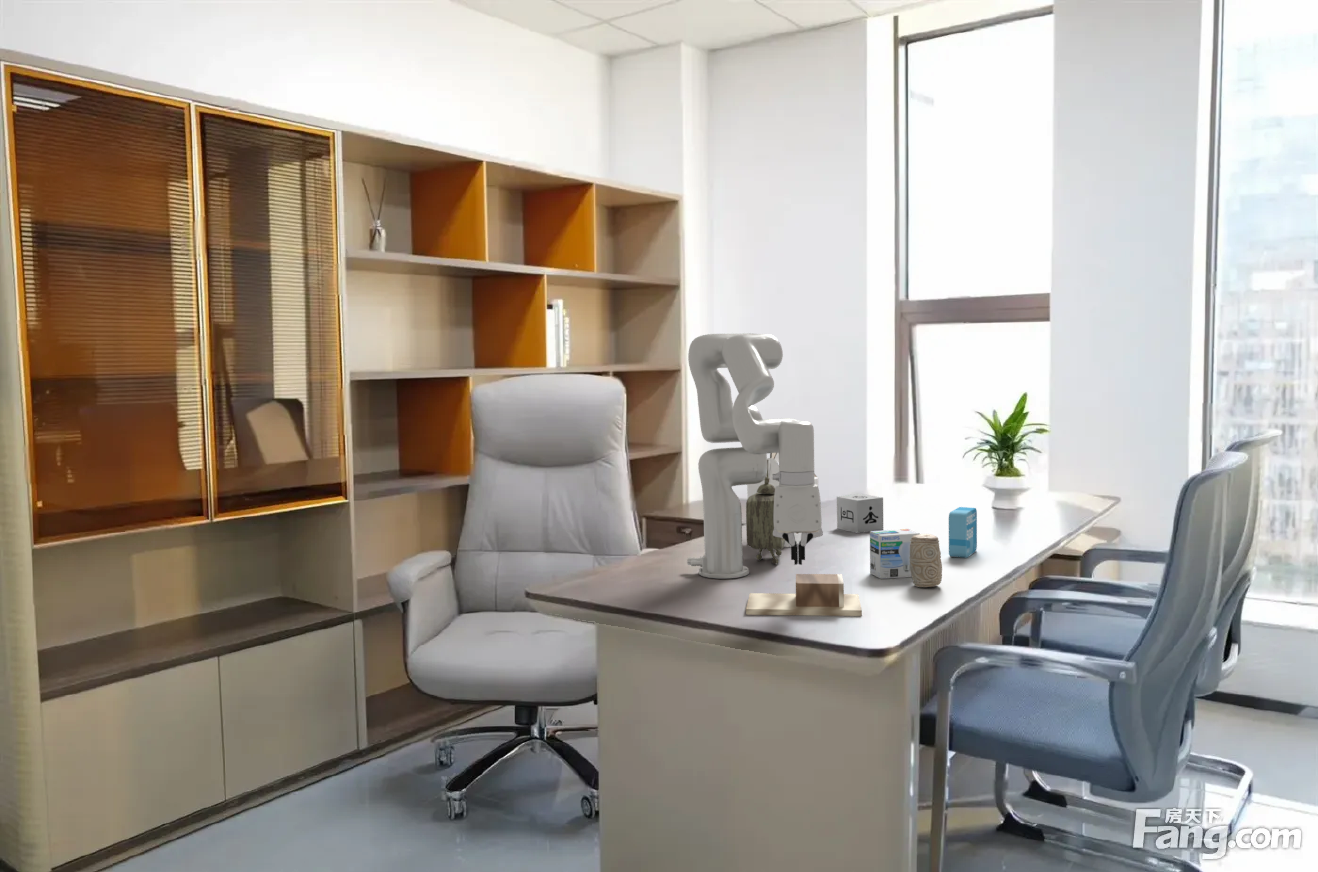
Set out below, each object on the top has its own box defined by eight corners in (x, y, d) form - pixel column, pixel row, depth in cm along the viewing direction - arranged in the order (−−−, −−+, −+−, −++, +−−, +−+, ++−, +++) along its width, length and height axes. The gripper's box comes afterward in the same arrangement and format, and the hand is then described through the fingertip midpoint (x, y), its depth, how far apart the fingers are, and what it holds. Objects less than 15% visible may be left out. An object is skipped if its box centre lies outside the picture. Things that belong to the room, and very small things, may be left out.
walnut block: (795, 583, 210) (843, 583, 208) (796, 574, 219) (842, 574, 217) (796, 606, 210) (843, 607, 209) (796, 596, 219) (842, 596, 217)
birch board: (746, 614, 209) (746, 609, 209) (749, 598, 223) (749, 593, 223) (861, 616, 206) (861, 610, 205) (858, 599, 219) (858, 594, 219)
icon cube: (837, 528, 309) (836, 496, 308) (862, 525, 313) (862, 493, 312) (857, 533, 300) (857, 500, 299) (883, 529, 304) (883, 497, 304)
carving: (916, 582, 235) (916, 532, 234) (947, 586, 230) (946, 534, 229) (904, 587, 230) (904, 536, 229) (935, 591, 225) (935, 539, 224)
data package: (965, 559, 259) (965, 513, 258) (948, 557, 261) (948, 512, 260) (977, 550, 269) (977, 507, 268) (960, 549, 271) (960, 506, 270)
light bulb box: (880, 579, 238) (879, 535, 237) (868, 573, 245) (868, 530, 244) (921, 576, 240) (921, 532, 239) (909, 570, 247) (908, 528, 246)
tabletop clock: (781, 566, 256) (779, 470, 254) (746, 565, 258) (744, 470, 256) (785, 555, 270) (784, 464, 268) (752, 554, 272) (750, 464, 270)
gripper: (761, 481, 210) (762, 566, 211) (832, 480, 207) (833, 567, 209) (762, 477, 217) (764, 559, 218) (831, 476, 215) (832, 560, 216)
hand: (798, 563), depth 214 cm, fingers closed
